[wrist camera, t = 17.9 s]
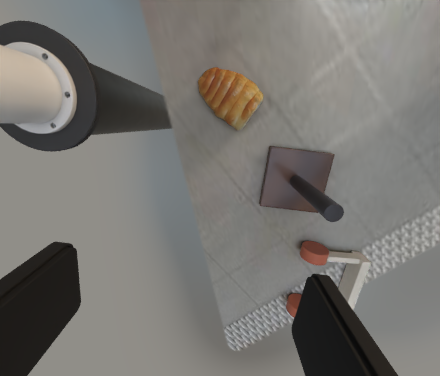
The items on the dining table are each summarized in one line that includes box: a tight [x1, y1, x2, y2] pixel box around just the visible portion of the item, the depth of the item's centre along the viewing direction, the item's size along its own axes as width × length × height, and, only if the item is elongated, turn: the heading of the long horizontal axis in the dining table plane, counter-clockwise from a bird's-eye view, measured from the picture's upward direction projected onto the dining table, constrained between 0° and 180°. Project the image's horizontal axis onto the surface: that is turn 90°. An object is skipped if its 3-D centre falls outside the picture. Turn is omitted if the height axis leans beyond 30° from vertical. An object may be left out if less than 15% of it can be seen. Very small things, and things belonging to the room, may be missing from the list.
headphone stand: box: [260, 146, 344, 222], centre depth 29 cm, size 10×10×14 cm
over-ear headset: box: [286, 241, 371, 318], centre depth 39 cm, size 4×14×12 cm
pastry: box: [198, 67, 263, 130], centre depth 30 cm, size 9×7×4 cm
